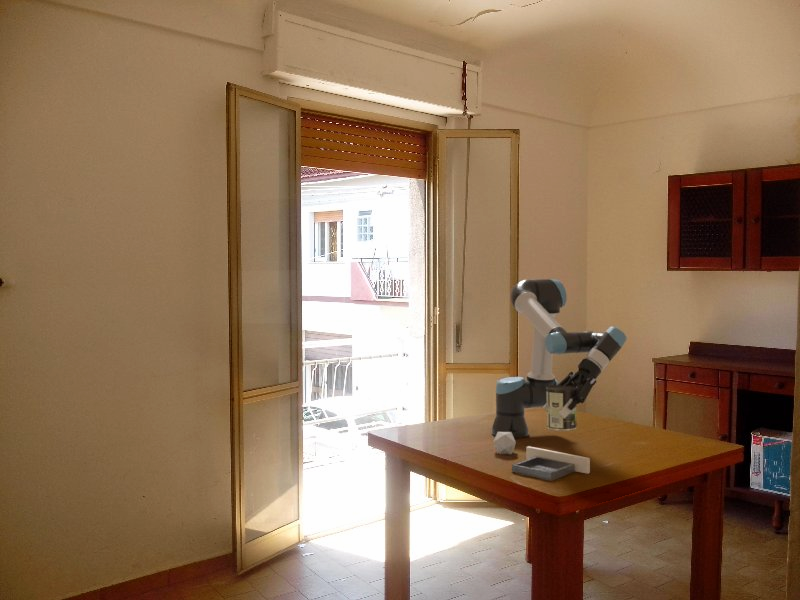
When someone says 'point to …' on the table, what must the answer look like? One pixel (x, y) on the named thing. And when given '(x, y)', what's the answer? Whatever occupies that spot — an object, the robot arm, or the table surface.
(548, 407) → the coffee can
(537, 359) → the robot arm
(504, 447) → the die
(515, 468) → the grey square tray
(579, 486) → the table surface
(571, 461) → the board
